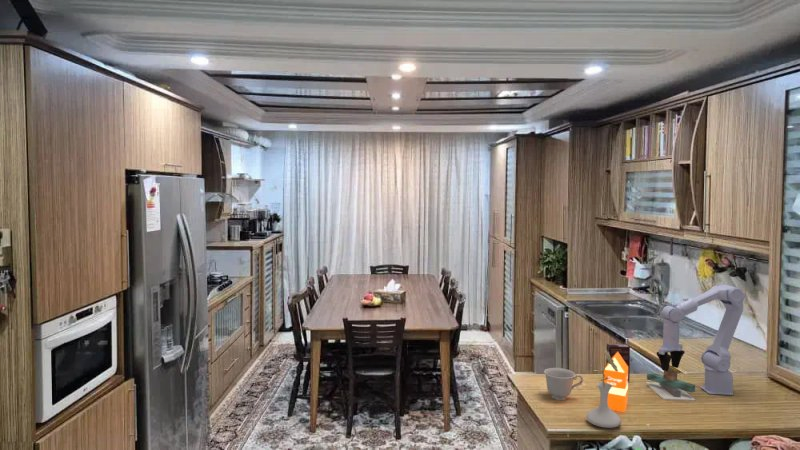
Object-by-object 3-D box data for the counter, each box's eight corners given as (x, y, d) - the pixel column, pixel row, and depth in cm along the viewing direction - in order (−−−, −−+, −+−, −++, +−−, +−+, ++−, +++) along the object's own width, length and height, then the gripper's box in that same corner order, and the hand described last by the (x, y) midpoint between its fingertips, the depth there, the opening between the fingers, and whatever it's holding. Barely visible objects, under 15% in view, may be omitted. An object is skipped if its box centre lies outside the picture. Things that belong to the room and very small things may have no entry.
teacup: (585, 405, 191) (585, 379, 191) (544, 402, 194) (545, 376, 194) (580, 393, 203) (580, 369, 203) (542, 390, 206) (542, 366, 206)
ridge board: (674, 384, 214) (675, 377, 214) (695, 401, 196) (696, 393, 196) (645, 383, 215) (645, 376, 215) (663, 399, 197) (663, 392, 197)
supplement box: (625, 379, 220) (626, 343, 219) (629, 383, 215) (630, 346, 215) (605, 378, 221) (606, 343, 220) (608, 382, 216) (609, 346, 215)
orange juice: (627, 404, 193) (629, 352, 192) (624, 412, 185) (626, 358, 184) (605, 400, 197) (607, 349, 196) (602, 407, 189) (603, 355, 188)
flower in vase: (619, 434, 168) (621, 360, 166) (583, 426, 173) (585, 354, 172) (623, 419, 179) (625, 350, 178) (589, 412, 184) (591, 345, 183)
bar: (646, 379, 212) (647, 366, 212) (650, 377, 214) (651, 365, 213) (691, 392, 197) (691, 378, 197) (694, 391, 199) (695, 377, 198)
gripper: (671, 340, 197) (670, 375, 198) (690, 335, 205) (689, 368, 206) (654, 336, 203) (653, 370, 204) (673, 331, 211) (672, 363, 212)
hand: (670, 368), depth 205 cm, fingers open, 7 cm apart
